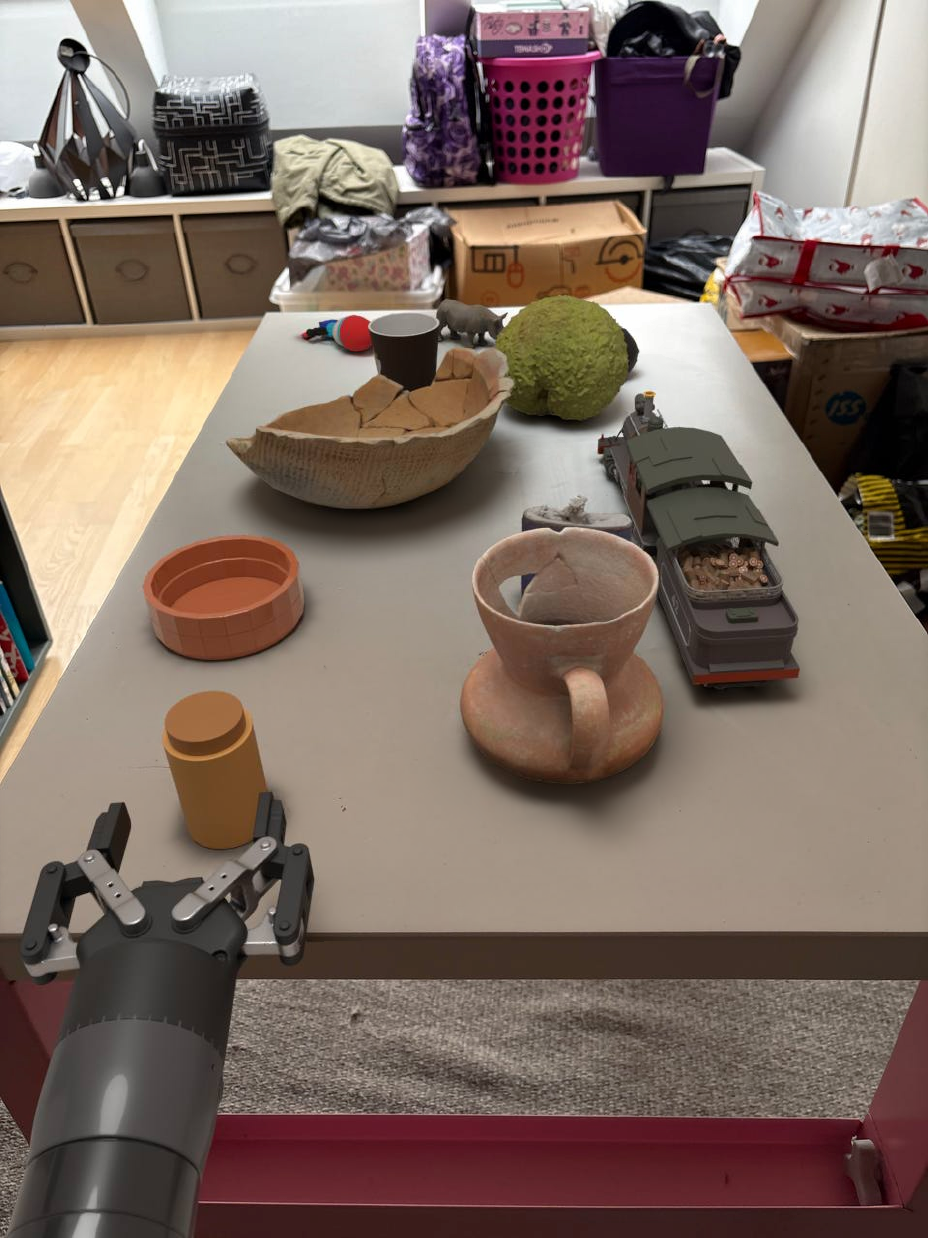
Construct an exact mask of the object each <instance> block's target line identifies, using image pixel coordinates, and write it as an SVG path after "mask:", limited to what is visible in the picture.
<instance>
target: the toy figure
mask: <svg viewBox="0 0 928 1238" xmlns="http://www.w3.org/2000/svg"><path fill="white" fill-rule="evenodd" d="M370 322H371V320H369V319H367V318H366V317H364V316H361V315H357V314H350V315H348V316H344V317H341V318H339V319H327V320H323V321H318V327H314V328H308V329H306V331H305V332H303V333H302V334H300V337H302V338H304V339H305V338H315V337H320V336H326V337H329V338H333V339H334V341H335V342H336V343H337V344H338V345H339V346H342V347H343V348H345V349H346V350H348V351H351V352H362V351H366V350H368V349H370V348H371V347H372V343H371V338H370V333H369V328H368V325H369V323H370Z"/></svg>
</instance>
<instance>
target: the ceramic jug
mask: <svg viewBox="0 0 928 1238" xmlns="http://www.w3.org/2000/svg"><path fill="white" fill-rule="evenodd" d="M527 574H535V576H534V577H533V579H532V581H531V582H530V584H529V585H528V586H527V587H526V589H525V591H524V594H523V597H522V596H521V600H520V602H519V604H518V606H517V609H516V612H514V610H512V609H511V608H510V607H509V605H508V603H507V602H506V599H505V597H504V596H503V594H502V592H501V591H500V588H499V587H500V586H502V584H503V583H504V582H505V581H506V580H507V579H510V578H513V577H518V576H519V577H521V575H527ZM658 586H659V574H658V570H657V567H656V565H655V563H654V562H653V560H652V558H651V557H650V556H649V555H648V554H647V553H646V552H644V551H643V550H642V549H641V548H640V546H639V545H637V544H635V543H633V542H632V541H631V542H629V541H627V540H625V539H623V538H621V537H618V536H616V535H613V534H610V533H607V532H603V531H598V530H595V529H588V528H578V527H566V528H564V529H563V530H562V531H561V532H555V531H553V530H551V529H550V528H540V529H534V530H529V531H524V532H522V531H521V532H517V533H515V534H512V535H509V536H508V537H505V538H503V539H501V540H499V541H497V542H495V544H493V545H492V546H490V547H489V548H488V549H487V550H486V551H485V552H484V553H483V554H482V555H481V557H479V558H478V559H477V562H476V563H475V565H474V568H473V571H472V575H471V587H472V593H473V598H474V602H475V605H476V608H477V612H478V614H479V617H480V620H481V623H482V625H483V627H484V629H485V631H486V633H487V636H488V637H489V639H490V642H491V644H492V646H493V648H491V649H490V650H489V651H487V652H486V653H485V654H483V655H482V656H481V657H480V658H479V659H478V660H477V661H476V662H475V664H474V665H473V666H472V667H471V669H470V671H469V673H468V675H467V676H466V678H465V680H464V683H463V685H462V688H461V693H460V700H459V702H460V703H459V704H460V705H459V706H460V715H461V720H462V723H463V725H464V727H465V731H466V732H467V734H468V736H469V737H470V739H471V741H472V743H473V744H474V745H475V746H476V748H478V750H479V751H480V752H481V753H482V754H483V755H484V756H485V757H486V758H487V759H489V760H490V761H491V762H493V763H494V764H496V766H499V767H500V768H502V769H504V770H506V771H508V772H510V773H512V774H515V775H518V776H520V777H522V778H527V779H529V780H530V779H531V780H535V781H539V782H543V783H552V784H565V785H570V784H571V785H572V784H573V785H574V784H583V783H590V782H591V783H592V782H595V781H598V780H602V779H605V778H607V777H608V778H609V777H610V776H613V775H616V774H619V773H621V772H622V771H624V770H626V769H627V768H629V767H631V766H632V765H634V764H635V763H636V762H638V761H639V760H640V759H641V758H642V757H643V756H644V755H645V754H646V753H647V752H648V751H649V750H650V748H652V746H653V745H654V742H655V741H656V739H657V737H658V735H659V732H660V730H661V727H662V725H663V720H664V713H665V712H664V710H665V708H664V707H665V704H664V703H665V702H664V697H663V693H662V689H661V687H660V684H659V682H658V680H657V678H656V676H655V673H653V671H652V669H651V668H650V666H649V665H648V664H647V663H646V662H645V661H644V660H643V659H642V658H641V657H640V656H639V655H638V654H637V653H635V652H634V651H635V649H636V647H637V646H638V643H639V642H640V640H641V638H642V637H643V634H644V632H645V630H646V628H647V625H648V623H649V620H650V617H651V614H652V612H653V610H654V609H653V608H654V605H655V602H656V599H657V595H658V592H657V591H658Z"/></svg>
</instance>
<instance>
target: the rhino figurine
mask: <svg viewBox="0 0 928 1238" xmlns="http://www.w3.org/2000/svg"><path fill="white" fill-rule="evenodd" d="M508 314H509V312H505V313H503V314H501V315H498V314H496V313H495V312H494V311H492V310H491V309H489V308H488V307H486V306H485V305H482V304H474V305H470V304H466V303H463V302H461V301H458V300H455V299H447V298H445V299H444V300H442V301H441V302H440V304H439V305H438V307H437V310H436V314H435V318H437V319H438V320H439V336H438V342H443V340H445V337H444V335H443V333H442V331H443V329H444V328H446V327H447V329H448V330H449V338H452V339H456V340H457V339H461V338H462V336H461V334H464V333H466V341H465V344H464V345H465V348H470V349H473V350H474V349H475V348H476V345H475V343H474V339H475V337H476V335H477V338H478V339H477V344H478V345H480V346H487V345H489V342H488V340H486V339H485V335H486V333H488V335H489V337H490V338H491V339H492V340H494V341H496V340H497V335H499V333H501V332H502V330H503V329H504V327H505V326H504V324H503V323H504V322H503V320H504V319H506V318H507V316H508Z"/></svg>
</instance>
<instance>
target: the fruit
mask: <svg viewBox="0 0 928 1238" xmlns="http://www.w3.org/2000/svg"><path fill="white" fill-rule="evenodd" d="M622 328H623V326H622V325H620V324H619V322H617V319H616V318H614V317H613V316H612V315H611V313H610V312H609V311H608V310H607V309H606V308H604V307H602V306H600V304H599V303H598V302H596V301H594V300H593V301H589V300H587V299H583V298H578V297H576V296H571V295H570V294H564V295H561V294H558V295H555V296H550V297H549V296H546V297H544V298H542V299H538V300H536V301H531V302H530V303H527V304H526V306H525V307H523V308H521V309H519V311H518V313H516V314H515V315H513V316H511V317H510V320H509V321H508V323H507V324H506V325H505V326H504V329H503V330H502V332H501V333H499V335H497V340H495V343H494V348H496V349H498V350H499V351H500V352H502V353H503V354H505V355H506V356H507V359H508V362H507V363H508V368H509V371H508V376H507V378H510V379H512V380H514V383H515V385H514V388H513V390H512V392H511V393H510V394H511V395H512V396H511V397H510V398H509V399H508V400H507V401H506V402H505V403H506V404H507V405H509V406H510V408H511V409H515V411H519V412H520V413H524V414H527V415H528V416H530V415H531V416H534V415H537V416H539V417H543V416H549V415H552V416H558V417H560V418H561V420H564V421H566V420H567V421H568V420H572V421H574V420H576V421H581V422H582V421H585V420H587V419H590V418H593V417H594V418H595V416H598V415H601V414H602V412H603V410H604V409H607V407H608V406H610V404H611V403H613V402H614V399H615V398H616V396H617V395H618V393H621V392H620V391H621V388H622V386H624V384H625V383H627V381H626V379H627V376H628V374H629V373H628V371H627V369H628V362H629V360H628V355H627V344H626V343H625V341H624V338H625V337H624V334H625V333H623V332H622ZM627 373H628V374H627Z"/></svg>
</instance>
